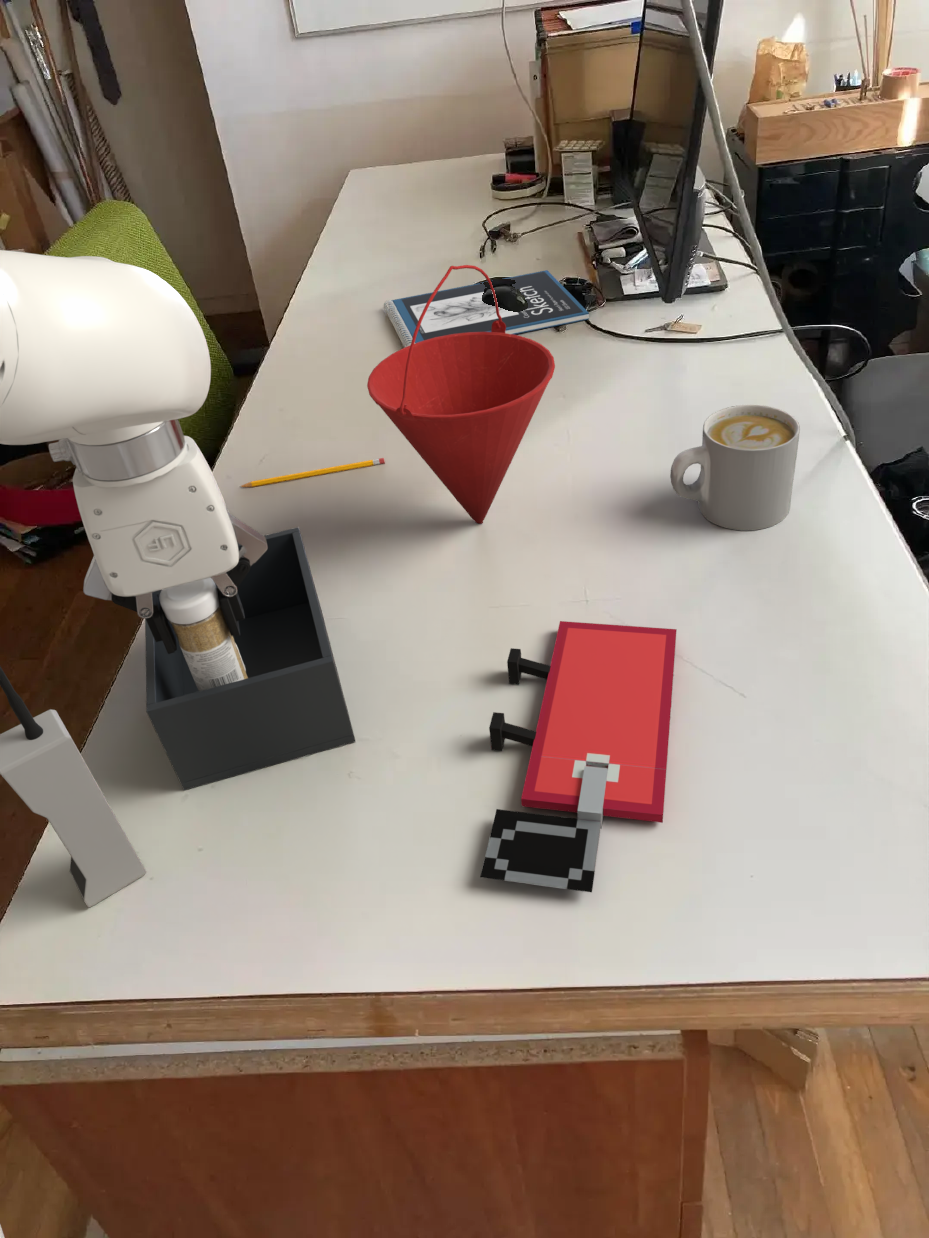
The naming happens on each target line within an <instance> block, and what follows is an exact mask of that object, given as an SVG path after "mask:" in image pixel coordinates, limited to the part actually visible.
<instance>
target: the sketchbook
mask: <svg viewBox="0 0 929 1238" xmlns="http://www.w3.org/2000/svg"><path fill="white" fill-rule="evenodd" d="M503 279H511V280H515V282H516V283H515V284H512V286H513V287H515V289H519V291H520V292H521V294H522V295H524V297H525V300H526V301H527V303H528V308H527V309H525V310H523V311H520V312H513V311H508V310H505V309H503V308H500V307H498V309H499V314H500V316H501V318H502V322H504V323H505V325H506V331H505V333H507V334H513V335H519V334H523V333H529V332H533V331H538V330H542V329H548V328H553V327H560V326H563V325H569V324H572V323H577V322H583V321H588V320H590V312H589V311H588V310H587V309H586V308H585V307H584V306H583V305H582V304H581V303H580V302H579V301H578V300H577V299H576V298H575V297H574V296H573V295H572V294H571V293H570V292H569V290H567V289H566V288H565V286H564V285H562V284H561V282H559V280H557V278H556V277H555V276H554V275H553V274H551V272H550V271H549V270H548V269H546V270H541V271H535V272H529V273H525V274H520V275H514V276H510V277H505V278H503ZM484 282H485V281H484ZM484 282H478V283H474V284H473V283H472V284H467V285H463V286H457V287H453V288H452V287H451V288H447V289H443V290H438V291H437V293H436V295H435V296H434V298H433V300H432V301H431V303H430V305H429V307H428V309H427V311H426V313H425V315H424V317H423V319H422V322H421V325H420V327H419V330H418V333H417V336H416V339H415V343H418V342H421V341H424V340H428V339H431V338H435V337H440V336H445V335H450V334H458V333H467V332H491V330H492V323H493V322H494V321H497V320H499V318H498V317H497V314H496V307H495V306H492V305H488V304H486V303H484V302H483V301H482V295H483V293H484V289H485V288H487V287H485V285H484V284H483V283H484ZM480 283H482V284H480ZM433 292H434V291H432V292H431V291H430V292H427V293H422V294H417V295H412V296H406V297H402V298H396V299H389V300H388V299H387V300H385V301H384V303H383V309H384V310H385V313H386V314H387V316H388V319H389V320H390V322H391V325H392V326H393V328H394V330H395V332H396V334H397V336H398V338H399V340H400V342H401V344H402V346H403V348H405V347H407V346H410V345H411V342H412V338H413V335H414V332H415V329H416V326H417V324H418V321H419V318H420V316H421V314H422V312H423V310H424V308H425V305H426V303H427V302H428V300H429V298H430V297H431V295H432V293H433ZM500 328H501V327H500ZM415 343H414V344H415Z"/></svg>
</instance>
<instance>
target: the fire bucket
mask: <svg viewBox="0 0 929 1238" xmlns="http://www.w3.org/2000/svg"><path fill="white" fill-rule="evenodd" d="M464 269H470V270H475V271H477V272H479V273H481V275H483V277H484V278H485V279H486V282H488V283H489V285H490V288H491V291H492V294H493V298H494V302H495V307H496V314H497V317H498V318H499V320H497V321H494V322H493V323H492V330H491V332H467V333H458V334H450V335H445V336H440V337H435V338H431V339H428V340H424V341H421V342H418V343H415V339H416V336H417V333H418V330H419V327H420V325H421V322H422V319H423V317H424V315H425V313H426V311H427V309H428V307H429V305H430V303H431V301H432V300H433V298H434V296H435V295H436V293H437V291H440V288H441V287H442V286H443V284H444V283H445V281H446V280H447V279H448V277H449V276H450V274H451V272H452V271H453V270H454V271H455V270H464ZM491 281H492V280H491V278H490V277H489V275H488V274H487V273H486V272H485V271H484V270H483V269H482V268H480V267H478V266H476V265H473V264H472V265H471V264H464V265H451V266H449V267H448V269H447V271H446V273H445V274H444V275H443V277H442V278H441V280H440V281H439V282H438V284H437V286H436V287H435V289H434V290H433V291H432V292H433V293H432V295H431V297H430V298H429V300H428V302H427V303H426V305H425V308H424V310H423V312H422V314H421V316H420V318H419V321H418V324H417V326H416V329H415V332H414V335H413V338H412V342H411V345H410V346H407V345H406V346H407V347H405V348H404V347H402V348H401V349H399V350H397V351H395V352H393V353H391V354H390V355H388V356H387V357H385V358H384V359H382V360H381V361H379V363H377V365H376V366H375V367H373V369H372V371H371V373H370V374H369V376H368V379H367V385H366V388H367V390H368V391H367V392H368V394H369V397H370V398H371V399H372V400H373V402H374V403H375V404H376V405H377V406H379V407H380V409H381V410H382V411H383V412H384V413H385V415H386V416H387V417H388V419H389V420H390V421H391V422H392V424H394V426H395V427H396V428H397V429H398V431H399V432H400V433H401V434H402V436H403V437H404V438H405V439H406V440H407V442H408V443H409V444H410V445H411V447H412V448H413V449H414V450H415V452H416V453H417V454H418V456H420V458H422V460H423V461H424V463H426V465H427V466H428V467H429V468H430V470H431V471H432V472H433V473H434V474H435V476H436V477H437V478H438V479H439V480H440V482H441V483H442V485H444V487H445V488H446V489H447V490H448V491H449V492H450V494H451V495H452V497H453V498H454V499H455V500H456V501H457V502H458V503H459V505H460V506H461V507H462V508H463V510H464V511H465V513H467V515H468V516H469V517H470V518H471V519H472V521H474V522H475V524H479V525H480V524H481V525H482V524H484V520H485V519H486V517H487V515H488V513H489V510H490V508H491V506H492V504H493V502H494V500H495V497H496V495H497V493H498V491H499V489H500V487H501V485H502V483H503V480H504V478H505V476H506V474H507V472H508V470H509V468H510V466H511V463H512V462H513V459H514V457H515V454H516V453H517V451H518V448H519V446H520V444H521V442H522V441H523V438H524V435H525V433H526V432H527V429H528V427H529V425H530V424H531V421H532V419H533V417H534V415H535V412H536V411H537V409H538V406H539V404H540V401H541V400H542V398H543V396H544V393H545V391H546V389H547V387H548V385H549V383H550V381H551V380H552V379H553V376H554V372H555V369H556V364H555V358H554V356H553V354H552V353H551V351H550V350H549V348H547V347H545V346H544V345H543V344H542V343H539V342H538V341H536V340H533V339H531V338H528V337H526V336H523V335H522V336H521V335H519V334H514V335H513V334H507V333H505V331H506V325H505V323H504V322H502V318H501V316H500V314H499V309H498V302H497V298H496V294H495V290H494V288H493V285H492V282H491ZM500 327H501V328H500ZM414 343H415V344H414Z"/></svg>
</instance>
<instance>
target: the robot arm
mask: <svg viewBox="0 0 929 1238" xmlns="http://www.w3.org/2000/svg"><path fill="white" fill-rule="evenodd" d="M211 364H212V363H211V357H210V350H209V347H208V343H207V339H206V336H205V333H204V330H203V328H202V326H201V324H200V322H199V320H198V318H197V316H196V314H195V313H194V311H193V310H192V307H190V306H189V304H188V303H187V301H186V300H185V299H184V297H182V295H181V294H180V293H179V292H178V291H177V290H176V289H175V288H174V287H173V286H172V285H171V284H169V283H168V282H167V281H166V280H164V279H163V278H161V277H160V276H159V275H157V274H156V273H154V272H152V271H150V270H148V269H145V268H144V267H140V266H136V265H133V264H128V263H123V262H116V261H113V260H111V259H109V258H106V257H103V256H98V255H97V256H94V255H93V256H92V255H82V256H81V255H80V256H72V257H71V256H70V257H68V256H67V257H66V256H56V255H48V254H47V255H45V254H39V253H31V252H25V251H24V252H23V251H14V250H4V249H0V444H1V445H8V446H27V445H34V444H35V445H36V444H41V443H46V442H53V443H49V444H48V451H49V454H50V457H51V459H52V461H53V462H54V463H56V464H57V463H60V462H64V461H65V462H66V463H69V462H71V463H72V465H73V466H74V465H75V467H76V468H75V470H74V473H73V476H72V485H73V492H74V497H75V499H76V504H77V508H78V512H79V515H80V518H81V521H82V524H83V527H84V531H85V533H86V536H87V540H88V542H89V544H90V547H91V550H92V553H93V557H92V559H91V562H90V564H89V567H88V569H87V572H86V574H85V577H84V580H83V589H82V590H83V591H82V592H83V594H84V595H86V596H88V597H93V598H96V599H100V600H104V601H111V602H112V603H113V604H115V605H117V606H119V607H123V608H125V609H127V610H130V611H133V612H136V613H137V616H138V618H139V617H140V618H141V619H144V620H145V619H146V621H147V623H148V625H149V628H150V630H151V632H152V635H153V637H154V639H155V641H156V642H159V641H163V643H164V646H165V648H166V650H167V653H168V654H171V653H175V651H176V650H177V644H176V634H175V632H174V629H173V627H172V624H171V623H170V622H169V620H168V619H167V618H166V616H165V614H164V611H163V609H162V606H161V604H160V600H159V594H154V593H153V592H155V591H159V590H163V589H167V588H171V587H175V586H179V585H183V584H186V583H190V582H194V581H198V580H202V579H206V578H210V577H211V579H212V580H213V581H214V583H215V584H216V585H217V590H218V599H219V604H220V607H221V609H222V612H223V615H224V618H225V620H226V623H227V626H228V629H229V631H230V634H231V636H234V637H235V636H239V635H240V629H239V622H238V621H239V620H243V619H245V615H244V610H243V607H242V604H241V601H240V598H239V595H238V590H237V588H238V586H239V585H240V583H241V582H242V581H243V579H244V578H245V576H246V575H247V573H248V572H249V570H250V568H251V566H252V564H253V563H255V562H256V561H257V560H258V559H259V558H260V557H261V556H262V555H263V554H264V553H265V552H266V551H267V549H268V546H267V541H266V538H265V536H264V535H263V534H262V533H261V532H259V531H258V530H256V529H254V528H253V527H252V526H250V525H248V524H247V523H245V522H244V521H242V520H241V519H239V518H238V517H236V516H234V515H233V514H231V513H230V511H229V508H228V506H227V504H226V501H225V498H224V496H223V494H222V490H221V489H220V486H219V484H218V482H217V480H216V477H215V475H214V474H213V471H212V469H211V467H210V465H209V464H208V463H209V462H208V461H207V460H206V458H205V456H204V454H203V453H202V451H201V449H200V447H199V446H198V445H197V443H196V441H195V439H193V437H190V436H188V435H184V432H183V430H182V429H183V428H182V427H181V423H180V421H179V420H180V419H183V418H188V417H190V416H193V415H194V414H196V413H197V412H198V411H199V410H200V409H201V408H202V407H203V405H204V403H205V401H206V400H207V397H208V393H209V390H210V385H211V381H212V380H211V377H212V365H211ZM55 441H56V442H55ZM237 543H239V544H241V545H242V546H243V547H242V548H241V550H240V551H239V550H238V544H237ZM223 547H224V548H223ZM0 1238H5V1234H4V1231H3V1228H2V1225H1V1224H0Z"/></svg>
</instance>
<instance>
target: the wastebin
mask: <svg viewBox="0 0 929 1238" xmlns="http://www.w3.org/2000/svg"><path fill="white" fill-rule="evenodd" d="M301 533H302V532H301V529H300V527H299V526H298V527H293V528H289V529H284V530H280V531H277V532H273V533H268V534H265V535H264V536H265V538H266V541H267V546H268V549H267V551H266V552H265V553H264V554H263V555H262V556H261V557H260V558H259V559H258V560H257V561H256V562H255V563H253V564H252V566H251V568H250V570H249V572H248V573H247V575H246V576H245V578H244V579H243V581H242V582H241V583H240V585H239V586H238V588H237V590H238V595H239V598H240V601H241V604H242V607H243V610H244V615H245V619H243V620H239V621H238V622H239V629H240V635H239V636H235V637H234V636H233V638H234V642H235V643H236V645H237V647H238V650H239V653H240V655H241V658H242V661H243V663H244V666H245V669H246V674H247V677H248V678H247V679H243V680H240V681H236V682H232V683H228V684H225V685H221V686H217V687H214V688H210V689H206V690H202V691H199V690H198V688H197V686H196V684H195V681H194V679H193V676H192V674H191V671H190V669H189V667H188V664H187V662H186V659H185V657H184V655H183V652H182V650H181V648H180V645H179V641H178V638H177V635H176V644H177V650H176V651H175V653H171V654H168V653H167V650H166V648H165V646H164V643H163V641H159V642H156V641H155V639H154V637H153V635H152V632H151V630H150V628H149V625H148V623H147V621H146V619H144V632H145V633H144V637H145V639H144V640H145V642H144V643H145V646H144V647H145V690H146V691H145V694H146V695H145V698H146V700H145V702H146V703H145V705H146V714H147V716H148V718H149V720H150V722H151V724H152V726H153V729H154V730H155V733H156V735H157V737H158V739H159V741H160V743H161V745H162V747H163V750H164V752H165V754H166V756H167V758H168V760H169V763H170V764H171V766H172V768H173V770H174V773H175V775H176V777H177V779H178V782H179V783H180V785H181V787H182V789H183V791H186V790H190V789H194V788H198V787H201V786H204V785H208V784H212V783H215V782H219V781H223V780H226V779H229V778H233V777H236V776H239V775H243V774H247V773H250V772H254V771H258V770H261V769H265V768H267V767H271V766H275V765H278V764H282V763H285V762H289V761H292V760H296V759H299V758H303V757H307V756H311V755H313V754H317V753H320V752H324V751H327V750H331V749H335V748H339V747H342V746H346V745H348V744H352V743H356V738H355V734H354V729H353V726H352V722H351V718H350V714H349V711H348V707H347V703H346V698H345V694H344V691H343V687H342V684H341V680H340V676H339V671H338V667H337V664H336V661H335V656H334V653H333V649H332V644H331V642H330V637H329V633H328V630H327V629H328V628H327V626H326V622H325V617H324V615H323V610H322V606H321V603H320V600H319V599H320V598H319V595H318V592H317V589H316V585H315V581H314V577H313V574H312V570H311V566H310V563H309V559H308V556H307V552H306V548H305V545H304V541H303V538H302V534H301ZM237 544H238V550H239V551H240V550H241V548H242V547H243V546H242V545H241V544H239V543H237ZM223 548H224V547H223ZM210 578H211V577H210ZM215 585H216V584H215ZM216 587H217V585H216ZM161 591H162V590H159V591H155V592H153V593H154V594H159V596H160V593H161Z"/></svg>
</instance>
